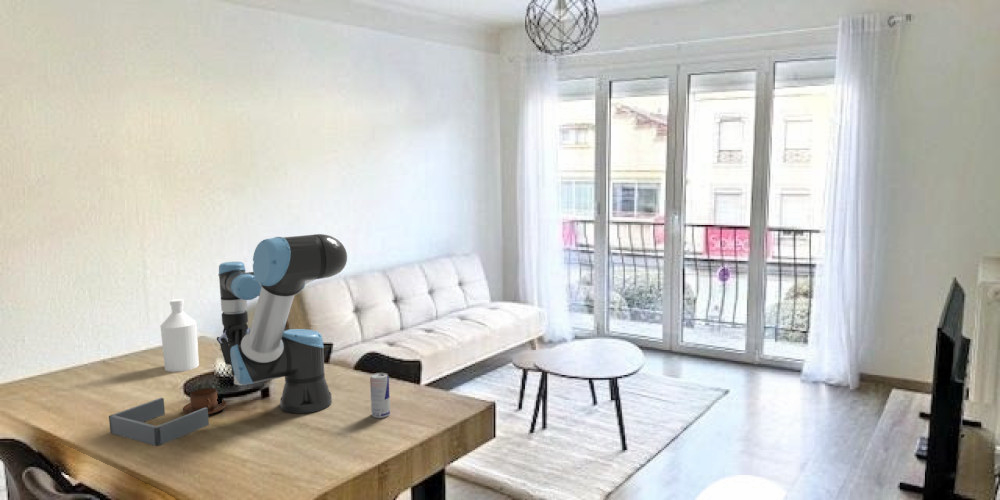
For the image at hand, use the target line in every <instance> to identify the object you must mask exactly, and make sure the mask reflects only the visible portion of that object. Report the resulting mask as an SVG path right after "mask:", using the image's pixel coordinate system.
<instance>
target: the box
mask: <svg viewBox="0 0 1000 500" xmlns="http://www.w3.org/2000/svg"><path fill="white" fill-rule="evenodd" d="M165 412H166V411H165V400H164V397H159V398H156V399H154V400H150V401H147V402H145V403H142V404H138V405H136V406H133V407H130V408H128V409H125V410H121V411H118V412H116V413H114V414H110V415H108V421H109V429H110V430H109V433H110V434H112V435H116V436H119V437H123V438H127V439H130V440H134V441H138V442H141V443H144V444H148V445H150V446H151V445H152V446H155V447H159V446H161V445H164V444H167V443H169V442H171V441H174V440H177V439H178V438H181V437H183V436H185V435H189V434H190V433H193V432H196V431H198V430H200V429H203V428H205V427H207V426H209V425H210V423H209V421H210V420H209V415H208V408H206V407H205V408H202V409H200V410H197V411H195V412H192V413H190V414H184V415H183V416H182V415H181V416H180V417H176V418H175V419H172V420H169V421H167V422H164V423H161V424H159V425H155V424H150V423H147V421H151V420H154V419H156V418H158V417H162V416H163V415H165V414H166V413H165Z"/></svg>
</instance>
